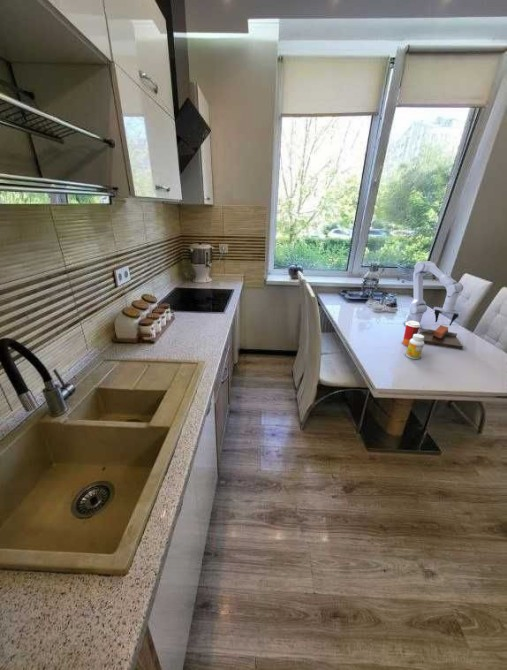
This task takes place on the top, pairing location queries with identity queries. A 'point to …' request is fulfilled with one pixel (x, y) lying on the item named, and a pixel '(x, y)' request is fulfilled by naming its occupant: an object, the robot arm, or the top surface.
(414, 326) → the paper cup
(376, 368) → the top surface
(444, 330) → the reddish orange block
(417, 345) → the supplement bottle
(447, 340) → the shelf board
